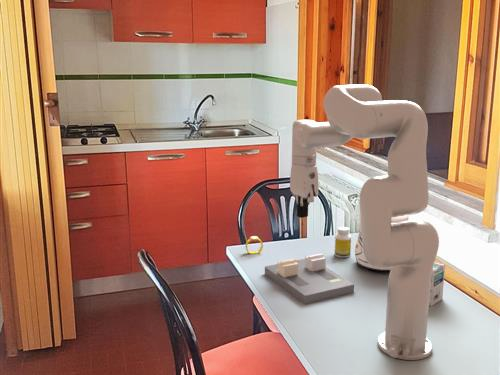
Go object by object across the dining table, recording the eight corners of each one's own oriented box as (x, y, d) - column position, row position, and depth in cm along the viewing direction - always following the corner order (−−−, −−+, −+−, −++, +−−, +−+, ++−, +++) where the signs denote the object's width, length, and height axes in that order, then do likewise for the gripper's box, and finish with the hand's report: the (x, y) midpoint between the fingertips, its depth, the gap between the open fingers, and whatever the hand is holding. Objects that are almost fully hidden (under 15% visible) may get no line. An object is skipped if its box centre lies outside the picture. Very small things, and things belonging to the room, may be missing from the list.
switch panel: (354, 292, 165) (354, 284, 164) (304, 303, 158) (305, 295, 157) (309, 264, 186) (310, 257, 185) (264, 273, 178) (264, 266, 178)
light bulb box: (443, 299, 160) (446, 263, 158) (432, 307, 156) (435, 270, 153) (408, 288, 168) (411, 254, 165) (397, 295, 163) (400, 260, 160)
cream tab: (298, 274, 171) (298, 261, 170) (283, 277, 169) (284, 264, 168) (291, 269, 175) (291, 257, 174) (277, 272, 173) (277, 259, 172)
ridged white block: (325, 268, 176) (325, 255, 175) (312, 271, 173) (312, 258, 172) (318, 264, 179) (318, 251, 178) (305, 267, 177) (305, 254, 176)
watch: (261, 251, 198) (262, 236, 197) (262, 254, 196) (264, 238, 194) (244, 252, 197) (245, 236, 196) (246, 254, 194) (247, 238, 193)
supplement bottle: (351, 258, 191) (352, 231, 189) (335, 258, 192) (336, 230, 189) (349, 252, 197) (350, 226, 194) (333, 252, 197) (334, 226, 194)
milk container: (343, 261, 189) (346, 210, 184) (383, 252, 196) (386, 203, 192) (377, 279, 174) (380, 224, 169) (419, 269, 182) (423, 216, 177)
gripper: (327, 163, 168) (325, 221, 173) (301, 154, 181) (299, 209, 186) (306, 165, 165) (305, 225, 170) (281, 156, 178) (280, 212, 183)
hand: (302, 216), depth 178 cm, fingers closed
